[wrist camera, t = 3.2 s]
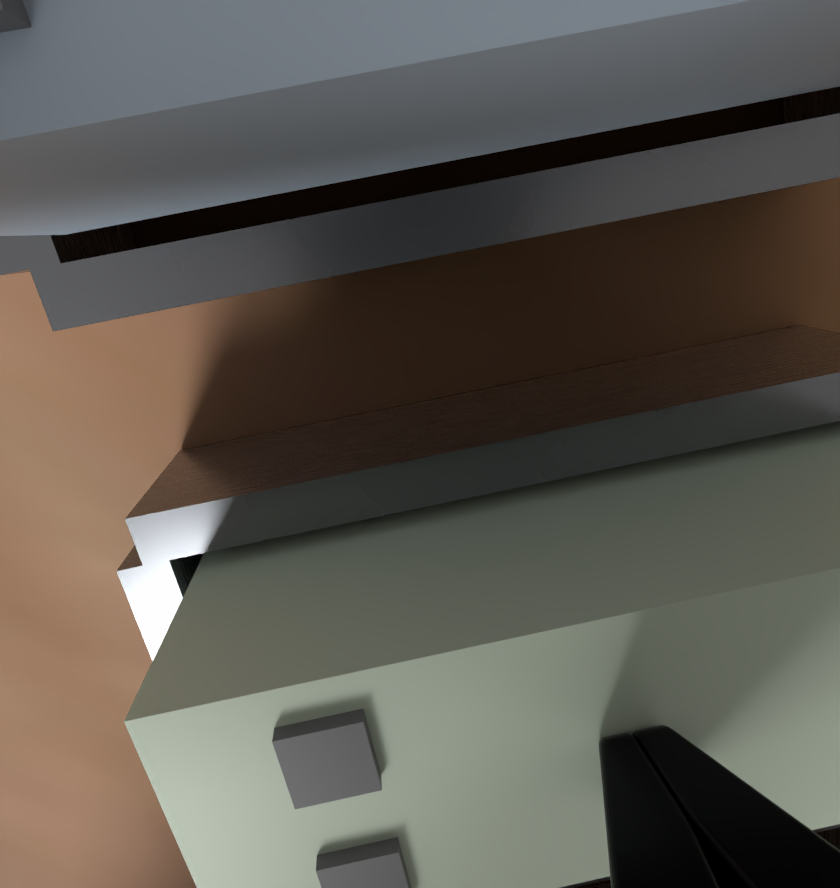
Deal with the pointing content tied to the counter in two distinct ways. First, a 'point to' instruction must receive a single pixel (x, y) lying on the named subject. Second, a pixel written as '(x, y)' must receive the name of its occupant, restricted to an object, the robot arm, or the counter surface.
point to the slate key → (353, 89)
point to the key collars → (463, 415)
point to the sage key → (499, 672)
